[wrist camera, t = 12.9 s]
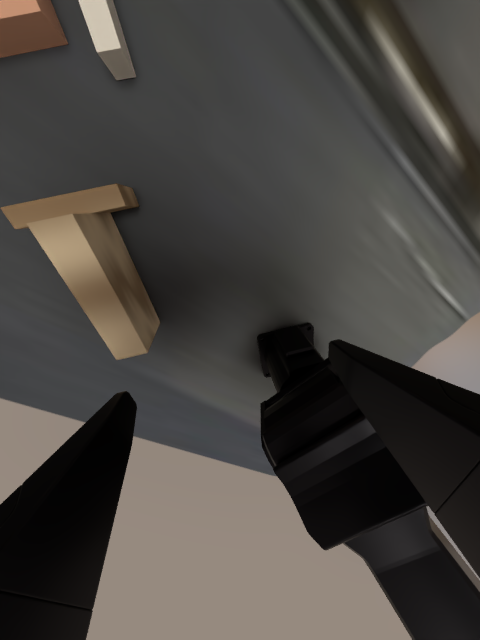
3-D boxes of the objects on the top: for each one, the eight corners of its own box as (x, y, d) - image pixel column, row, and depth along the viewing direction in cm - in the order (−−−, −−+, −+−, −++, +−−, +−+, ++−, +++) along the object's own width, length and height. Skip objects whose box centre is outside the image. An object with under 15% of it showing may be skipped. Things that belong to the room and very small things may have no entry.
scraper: (182, 317, 20) (175, 346, 16) (114, 333, 20) (88, 366, 16) (132, 188, 15) (101, 179, 10) (37, 208, 14) (-36, 207, 10)
